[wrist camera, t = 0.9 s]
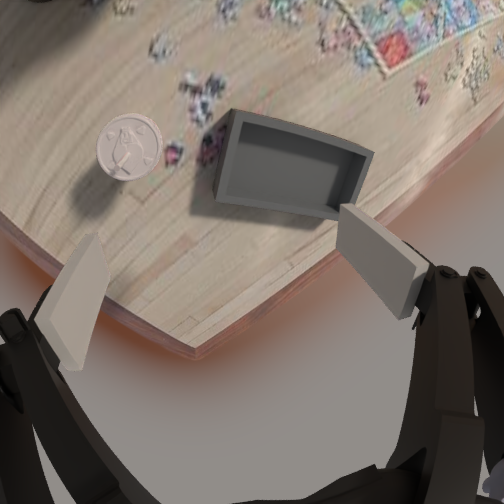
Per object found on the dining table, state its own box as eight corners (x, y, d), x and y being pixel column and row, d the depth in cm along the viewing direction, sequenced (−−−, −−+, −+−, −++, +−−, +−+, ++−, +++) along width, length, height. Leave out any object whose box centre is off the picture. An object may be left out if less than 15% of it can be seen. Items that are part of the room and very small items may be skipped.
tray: (231, 108, 30) (236, 110, 27) (359, 144, 36) (374, 152, 33) (212, 189, 36) (215, 201, 33) (335, 210, 42) (347, 222, 38)
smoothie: (121, 160, 31) (86, 205, 19) (116, 111, 27) (73, 129, 16) (170, 153, 32) (160, 194, 21) (167, 103, 28) (153, 113, 17)
